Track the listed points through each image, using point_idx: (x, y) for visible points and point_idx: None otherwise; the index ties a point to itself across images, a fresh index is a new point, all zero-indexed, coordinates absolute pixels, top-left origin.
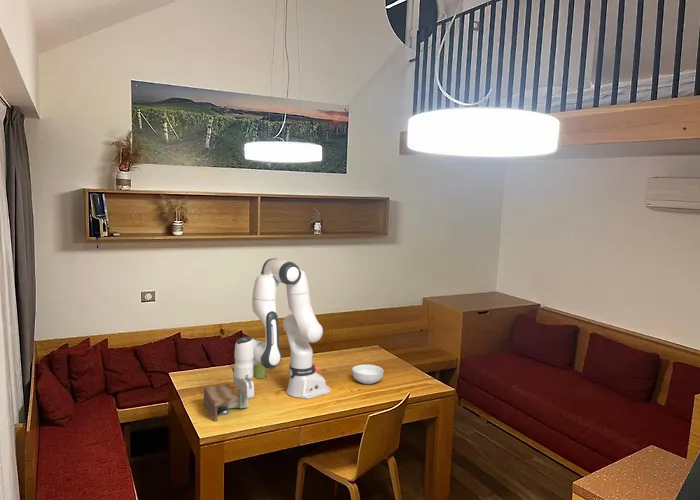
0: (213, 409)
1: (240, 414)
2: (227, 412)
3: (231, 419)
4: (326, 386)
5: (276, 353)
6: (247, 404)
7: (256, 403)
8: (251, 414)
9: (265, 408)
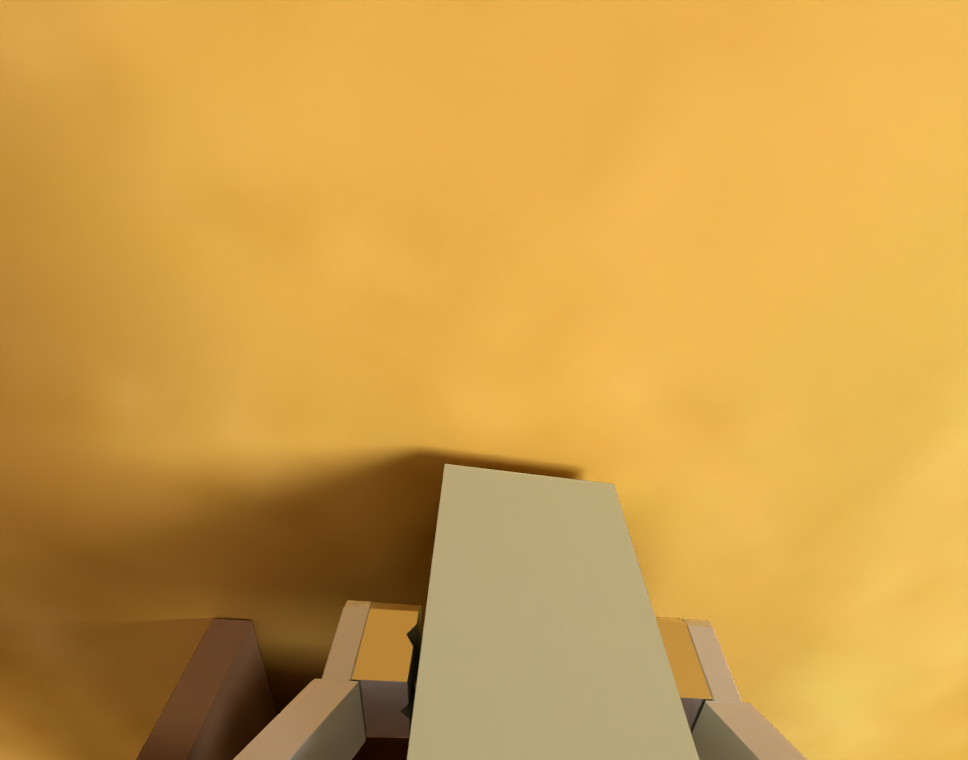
0: None
1: (736, 613)
2: None
3: (793, 719)
4: None
5: None
6: (620, 539)
7: (442, 231)
8: (865, 500)
9: (840, 144)
